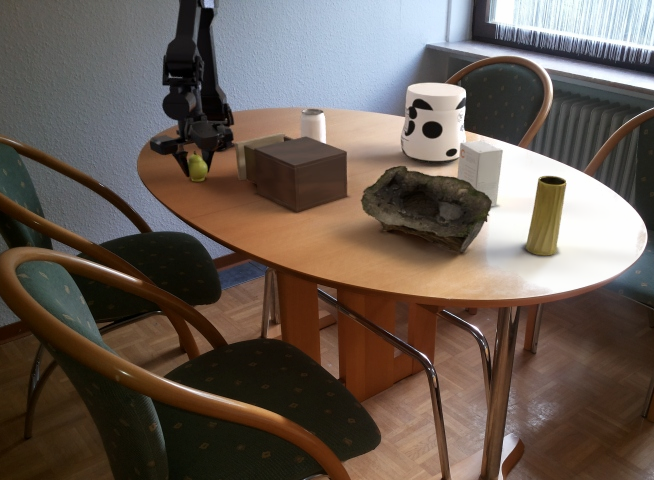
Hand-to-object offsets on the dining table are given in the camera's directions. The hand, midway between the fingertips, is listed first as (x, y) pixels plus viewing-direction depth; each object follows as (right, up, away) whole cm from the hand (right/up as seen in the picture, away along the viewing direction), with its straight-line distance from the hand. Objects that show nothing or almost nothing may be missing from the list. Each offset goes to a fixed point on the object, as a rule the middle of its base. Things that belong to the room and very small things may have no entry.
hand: (197, 174), depth 154 cm
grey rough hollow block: (+53, -18, -25) cm, 61 cm away
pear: (0, -1, +1) cm, 1 cm away
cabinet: (+26, -6, -6) cm, 27 cm away
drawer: (+18, -1, +1) cm, 18 cm away
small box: (+66, -8, -6) cm, 67 cm away
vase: (+76, -20, -26) cm, 83 cm away
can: (+26, +8, +18) cm, 32 cm away
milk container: (+57, +9, +21) cm, 62 cm away
